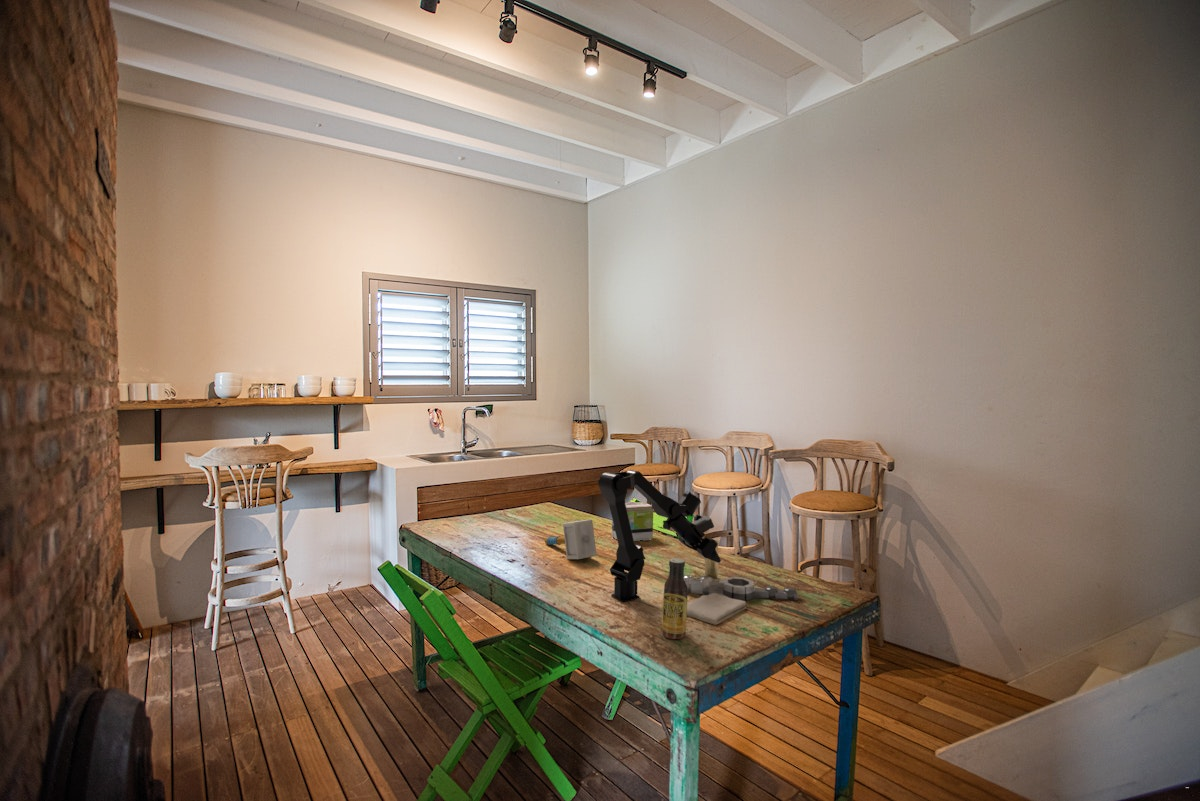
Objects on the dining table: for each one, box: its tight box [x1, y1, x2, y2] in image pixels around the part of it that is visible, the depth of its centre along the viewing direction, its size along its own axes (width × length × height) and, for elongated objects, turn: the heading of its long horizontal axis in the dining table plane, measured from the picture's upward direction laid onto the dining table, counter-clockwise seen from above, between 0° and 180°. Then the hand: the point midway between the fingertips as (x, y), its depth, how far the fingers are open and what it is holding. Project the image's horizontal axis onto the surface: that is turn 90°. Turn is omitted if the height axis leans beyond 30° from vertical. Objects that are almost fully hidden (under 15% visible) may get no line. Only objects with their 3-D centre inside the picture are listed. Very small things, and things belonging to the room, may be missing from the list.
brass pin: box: [704, 539, 719, 579], centre depth 196 cm, size 4×4×13 cm
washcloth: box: [686, 593, 747, 626], centre depth 169 cm, size 12×18×3 cm, turn 138°
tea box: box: [611, 501, 654, 542], centre depth 248 cm, size 15×10×15 cm
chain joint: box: [684, 574, 799, 602], centre depth 182 cm, size 35×9×5 cm, turn 80°
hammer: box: [544, 519, 598, 560], centre depth 227 cm, size 8×13×30 cm
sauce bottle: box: [661, 557, 688, 640], centre depth 152 cm, size 7×6×20 cm
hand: (713, 557), depth 197 cm, fingers open, 9 cm apart
